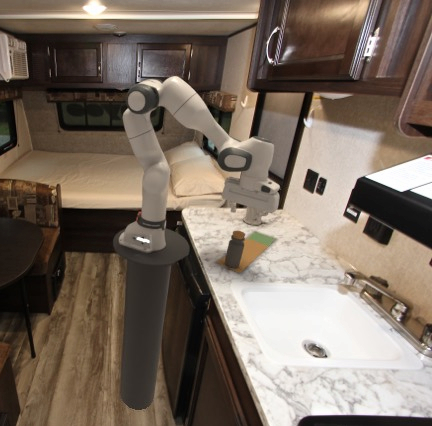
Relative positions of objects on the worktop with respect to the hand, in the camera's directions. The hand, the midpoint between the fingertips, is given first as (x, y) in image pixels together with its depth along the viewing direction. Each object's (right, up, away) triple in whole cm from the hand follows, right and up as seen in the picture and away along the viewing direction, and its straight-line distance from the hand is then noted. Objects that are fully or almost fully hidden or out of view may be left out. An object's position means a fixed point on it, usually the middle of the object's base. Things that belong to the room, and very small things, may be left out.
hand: (244, 215), depth 113 cm
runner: (+7, -17, +17) cm, 25 cm away
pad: (+22, -11, +30) cm, 39 cm away
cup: (+26, -4, +47) cm, 54 cm away
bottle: (-1, -21, +9) cm, 23 cm away
